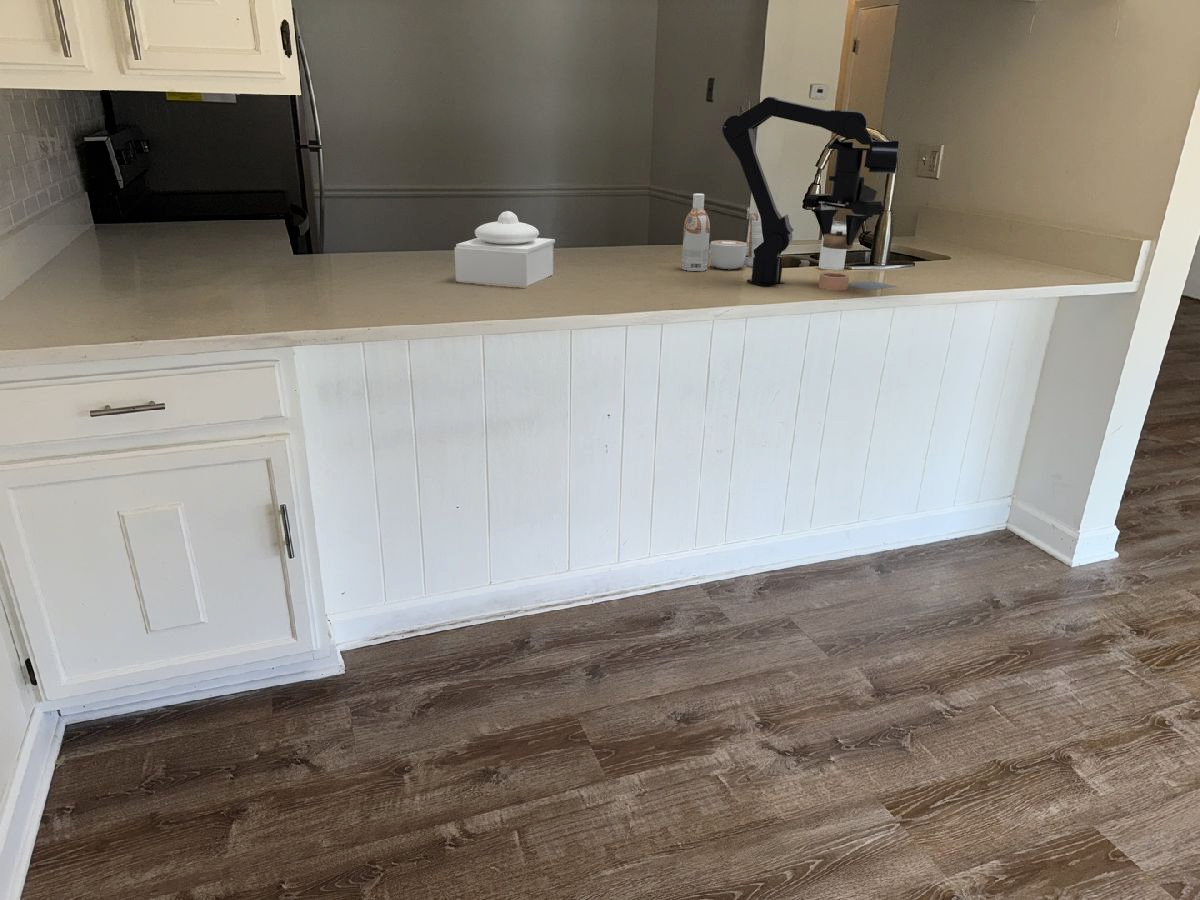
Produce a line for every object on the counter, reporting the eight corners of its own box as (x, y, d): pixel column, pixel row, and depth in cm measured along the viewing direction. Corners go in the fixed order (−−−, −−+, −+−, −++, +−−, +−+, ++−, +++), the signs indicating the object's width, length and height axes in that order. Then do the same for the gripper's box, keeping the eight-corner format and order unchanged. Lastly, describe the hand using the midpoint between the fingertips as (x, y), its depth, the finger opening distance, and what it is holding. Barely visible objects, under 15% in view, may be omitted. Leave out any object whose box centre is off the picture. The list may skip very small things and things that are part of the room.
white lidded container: (456, 283, 196) (453, 212, 190) (488, 270, 212) (487, 204, 206) (526, 289, 191) (525, 216, 185) (554, 276, 207) (555, 208, 201)
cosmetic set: (757, 263, 230) (763, 191, 223) (776, 269, 222) (783, 194, 215) (674, 267, 221) (678, 192, 214) (691, 273, 213) (696, 196, 206)
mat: (867, 291, 196) (867, 290, 196) (841, 285, 202) (841, 284, 202) (896, 288, 201) (897, 286, 201) (870, 282, 207) (870, 280, 207)
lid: (838, 249, 190) (840, 234, 189) (816, 245, 196) (818, 230, 194) (858, 248, 194) (860, 232, 192) (836, 244, 199) (838, 229, 198)
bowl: (832, 292, 194) (834, 278, 193) (812, 287, 199) (814, 274, 198) (852, 290, 197) (854, 276, 196) (832, 285, 202) (833, 272, 201)
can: (844, 271, 220) (850, 224, 216) (818, 270, 221) (824, 223, 217) (842, 267, 226) (848, 221, 222) (818, 266, 227) (823, 220, 223)
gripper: (905, 174, 185) (894, 247, 191) (841, 168, 200) (833, 236, 206) (870, 175, 180) (859, 250, 185) (807, 168, 194) (799, 238, 200)
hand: (838, 243), depth 194 cm, fingers closed on lid, 7 cm apart
